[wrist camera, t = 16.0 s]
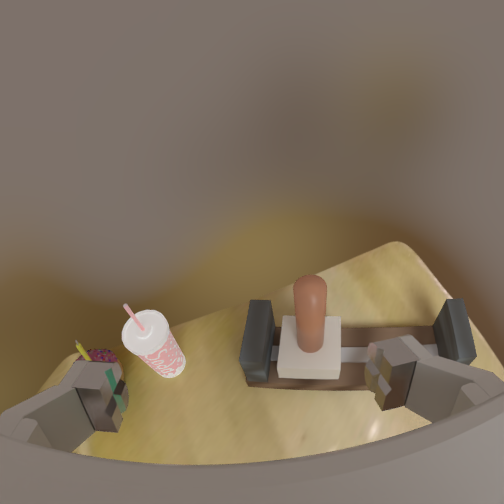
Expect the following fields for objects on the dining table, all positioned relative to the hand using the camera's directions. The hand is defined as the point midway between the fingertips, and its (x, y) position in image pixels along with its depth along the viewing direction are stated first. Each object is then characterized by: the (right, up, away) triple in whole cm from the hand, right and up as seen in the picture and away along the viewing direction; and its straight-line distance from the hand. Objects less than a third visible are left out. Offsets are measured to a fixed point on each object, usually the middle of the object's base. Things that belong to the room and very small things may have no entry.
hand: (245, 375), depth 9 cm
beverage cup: (-11, -12, +32) cm, 36 cm away
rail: (+14, -10, +28) cm, 33 cm away
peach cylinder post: (+7, -8, +27) cm, 30 cm away
